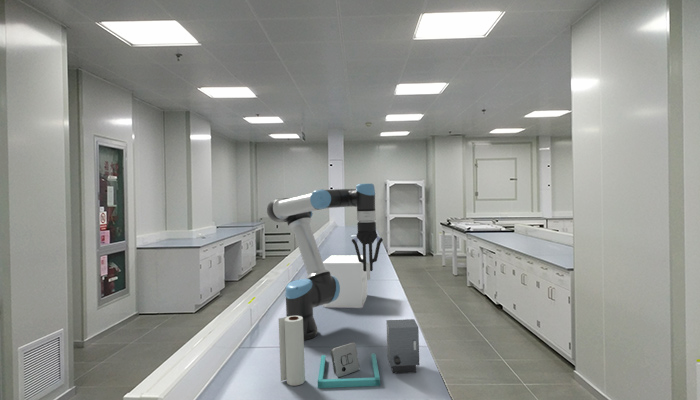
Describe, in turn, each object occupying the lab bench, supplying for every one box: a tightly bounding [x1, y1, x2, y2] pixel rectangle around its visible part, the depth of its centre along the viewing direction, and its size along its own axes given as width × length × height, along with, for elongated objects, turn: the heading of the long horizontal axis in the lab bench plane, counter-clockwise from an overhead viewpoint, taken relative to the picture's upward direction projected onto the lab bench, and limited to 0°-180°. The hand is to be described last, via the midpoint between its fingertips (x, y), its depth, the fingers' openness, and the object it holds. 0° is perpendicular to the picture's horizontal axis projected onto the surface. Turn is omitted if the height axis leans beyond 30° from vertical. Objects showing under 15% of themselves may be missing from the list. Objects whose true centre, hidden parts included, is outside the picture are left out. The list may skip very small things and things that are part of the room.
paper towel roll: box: [278, 316, 306, 387], centre depth 129 cm, size 7×6×21 cm
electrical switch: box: [329, 342, 361, 378], centre depth 135 cm, size 9×5×9 cm, turn 125°
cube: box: [322, 254, 368, 309], centre depth 221 cm, size 25×21×24 cm
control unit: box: [385, 318, 420, 374], centre depth 135 cm, size 10×10×16 cm
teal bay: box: [317, 352, 381, 389], centre depth 134 cm, size 20×20×2 cm
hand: (368, 278), depth 158 cm, fingers closed
